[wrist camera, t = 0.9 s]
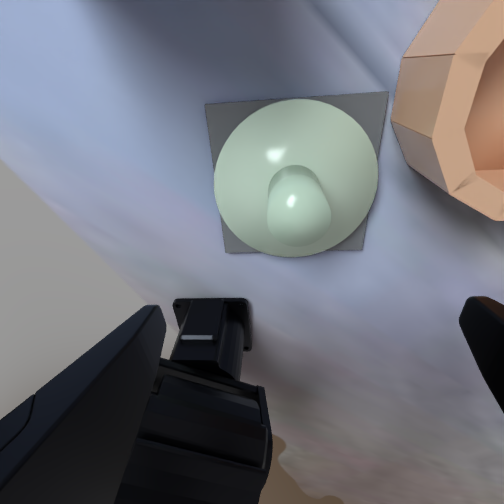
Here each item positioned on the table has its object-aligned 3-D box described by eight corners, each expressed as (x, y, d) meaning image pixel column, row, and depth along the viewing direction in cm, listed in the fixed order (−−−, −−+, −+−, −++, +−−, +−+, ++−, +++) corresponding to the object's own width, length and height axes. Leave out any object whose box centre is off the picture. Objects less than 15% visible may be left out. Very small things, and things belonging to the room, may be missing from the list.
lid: (361, 249, 21) (383, 293, 16) (225, 252, 21) (214, 295, 17) (388, 92, 15) (430, 100, 11) (204, 104, 16) (182, 117, 12)
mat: (360, 246, 21) (361, 249, 20) (226, 250, 22) (225, 252, 21) (386, 91, 15) (388, 91, 15) (206, 103, 16) (204, 104, 16)
